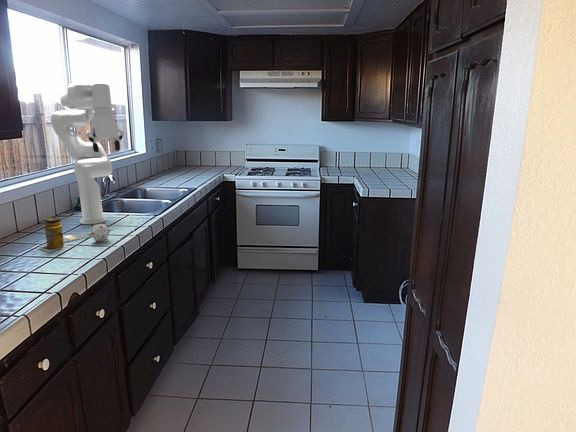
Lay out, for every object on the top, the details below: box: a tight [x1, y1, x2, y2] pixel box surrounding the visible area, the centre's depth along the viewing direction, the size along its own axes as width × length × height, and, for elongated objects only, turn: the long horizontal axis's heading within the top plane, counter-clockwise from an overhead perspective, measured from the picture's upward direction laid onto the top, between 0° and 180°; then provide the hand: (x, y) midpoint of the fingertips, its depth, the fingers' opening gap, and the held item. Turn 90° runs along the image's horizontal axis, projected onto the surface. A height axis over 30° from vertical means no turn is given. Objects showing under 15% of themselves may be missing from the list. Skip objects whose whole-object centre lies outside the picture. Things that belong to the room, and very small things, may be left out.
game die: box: [88, 221, 112, 244], centre depth 181 cm, size 9×8×10 cm
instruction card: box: [63, 231, 92, 244], centre depth 186 cm, size 10×14×1 cm
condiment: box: [38, 217, 68, 253], centre depth 172 cm, size 7×8×12 cm
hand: (107, 151), depth 191 cm, fingers open, 9 cm apart
